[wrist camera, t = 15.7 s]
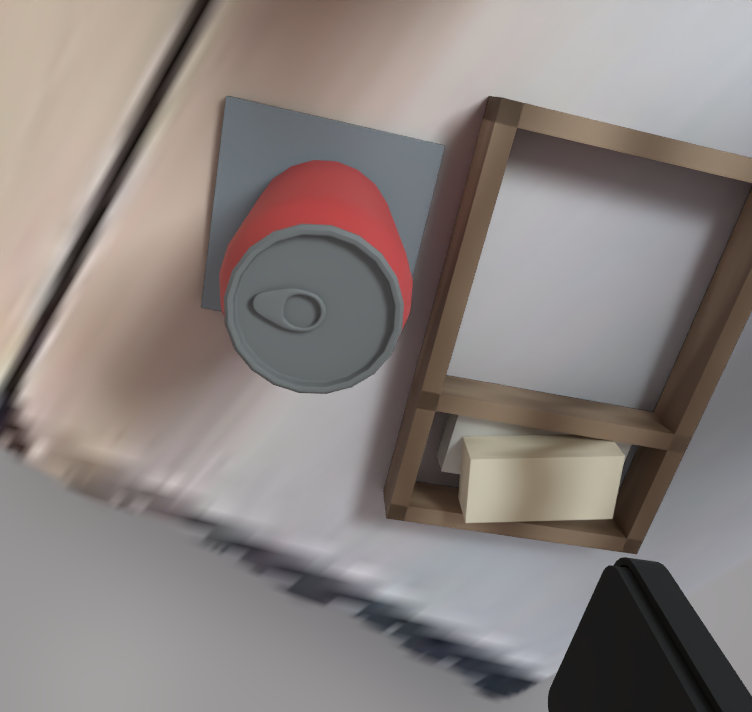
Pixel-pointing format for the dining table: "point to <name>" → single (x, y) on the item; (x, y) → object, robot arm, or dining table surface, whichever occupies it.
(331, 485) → the dining table surface
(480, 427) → the offcut lower
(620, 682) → the robot arm
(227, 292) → the beer can
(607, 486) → the offcut upper
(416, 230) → the slate pad
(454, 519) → the slot rack
